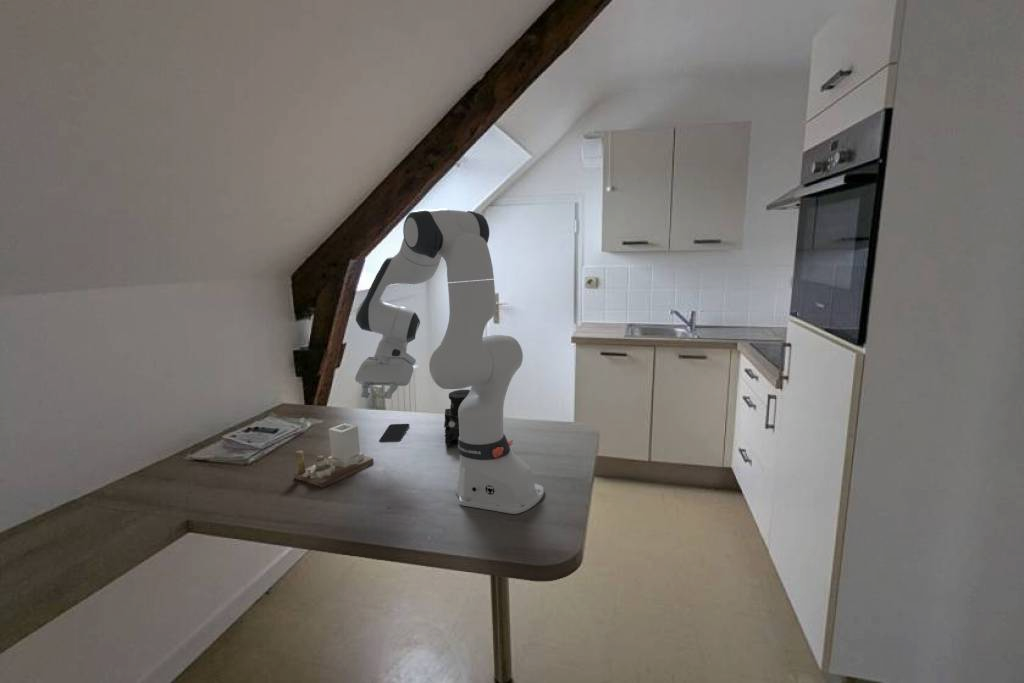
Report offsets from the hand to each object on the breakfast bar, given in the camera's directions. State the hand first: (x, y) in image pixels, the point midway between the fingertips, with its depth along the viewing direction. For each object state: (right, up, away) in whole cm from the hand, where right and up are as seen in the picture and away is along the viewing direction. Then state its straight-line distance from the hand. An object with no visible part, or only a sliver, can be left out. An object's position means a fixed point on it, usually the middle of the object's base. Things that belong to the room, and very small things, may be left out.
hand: (375, 397), depth 149 cm
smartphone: (+1, -15, +19) cm, 24 cm away
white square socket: (-7, -17, -6) cm, 20 cm away
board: (-9, -20, -8) cm, 23 cm away
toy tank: (+26, -15, +13) cm, 32 cm away
